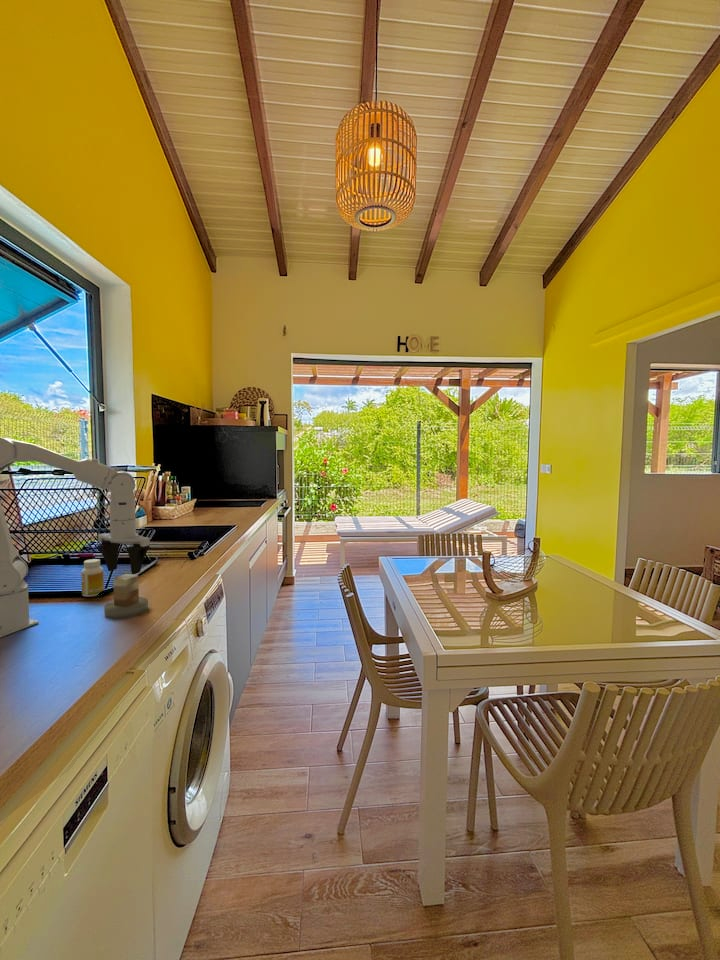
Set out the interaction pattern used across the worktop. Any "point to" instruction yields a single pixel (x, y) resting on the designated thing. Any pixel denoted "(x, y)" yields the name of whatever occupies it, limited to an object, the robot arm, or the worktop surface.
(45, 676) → the worktop surface
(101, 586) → the supplement bottle
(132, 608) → the stand
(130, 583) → the block
